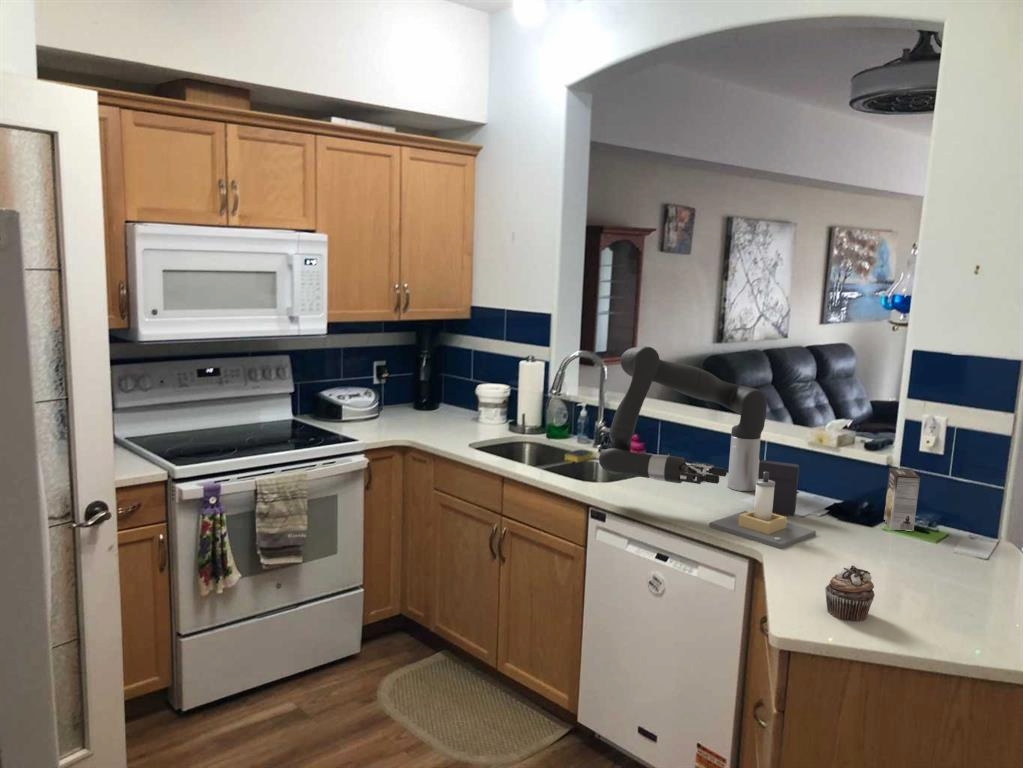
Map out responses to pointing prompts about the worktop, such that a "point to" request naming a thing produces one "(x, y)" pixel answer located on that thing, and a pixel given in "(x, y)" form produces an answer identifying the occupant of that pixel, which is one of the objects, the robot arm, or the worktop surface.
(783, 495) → the dark grey upright panel
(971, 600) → the worktop surface
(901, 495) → the coffee box
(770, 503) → the white cylindrical bottle
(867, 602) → the cupcake
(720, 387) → the robot arm
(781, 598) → the worktop surface
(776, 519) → the socket dock
